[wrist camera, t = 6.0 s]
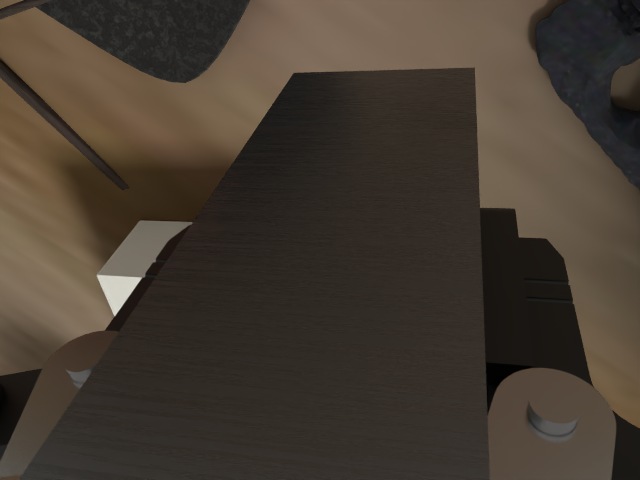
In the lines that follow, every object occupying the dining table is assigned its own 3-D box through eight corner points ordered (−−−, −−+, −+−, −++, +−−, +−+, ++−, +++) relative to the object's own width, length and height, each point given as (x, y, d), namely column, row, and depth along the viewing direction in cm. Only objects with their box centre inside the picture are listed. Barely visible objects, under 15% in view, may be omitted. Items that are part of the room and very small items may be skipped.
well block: (376, 228, 30) (363, 290, 26) (387, 431, 40) (379, 497, 36) (139, 220, 33) (96, 275, 29) (207, 410, 43) (182, 469, 39)
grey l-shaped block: (474, 67, 12) (498, 718, 3) (458, 333, 17) (451, 890, 8) (293, 72, 13) (-60, 596, 4) (327, 324, 17) (192, 814, 9)
